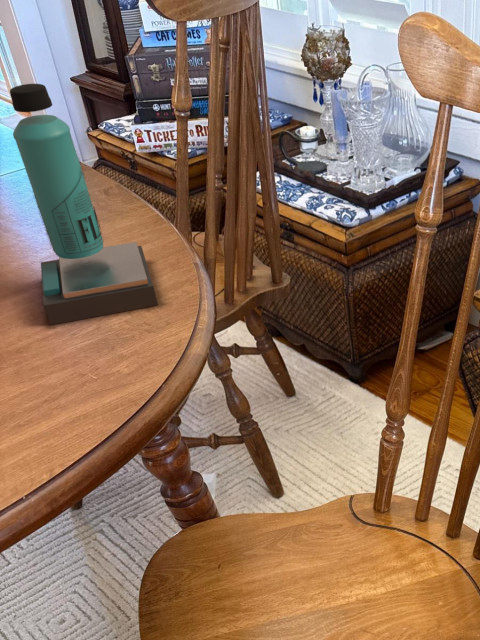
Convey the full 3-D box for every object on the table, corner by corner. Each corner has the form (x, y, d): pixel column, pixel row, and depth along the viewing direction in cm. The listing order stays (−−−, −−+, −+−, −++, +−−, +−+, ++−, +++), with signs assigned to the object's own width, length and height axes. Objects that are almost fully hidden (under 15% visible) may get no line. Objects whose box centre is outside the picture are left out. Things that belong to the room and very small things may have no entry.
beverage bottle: (94, 272, 98) (39, 94, 84) (46, 269, 99) (-17, 93, 85) (117, 250, 102) (69, 78, 88) (71, 248, 103) (16, 77, 89)
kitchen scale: (50, 325, 95) (41, 299, 93) (47, 281, 104) (38, 256, 102) (158, 305, 98) (151, 279, 96) (146, 263, 107) (139, 239, 105)
